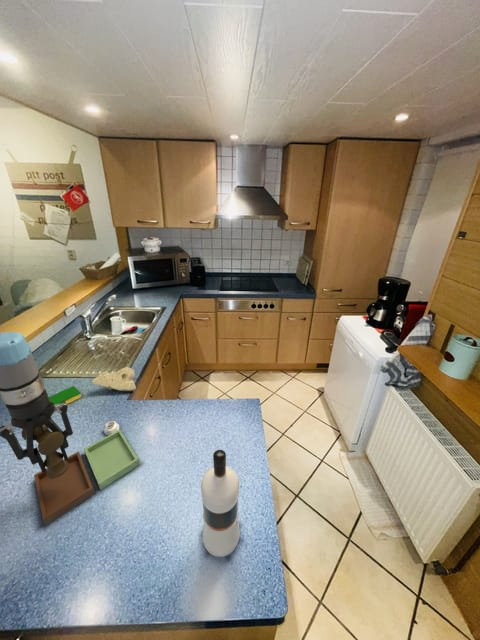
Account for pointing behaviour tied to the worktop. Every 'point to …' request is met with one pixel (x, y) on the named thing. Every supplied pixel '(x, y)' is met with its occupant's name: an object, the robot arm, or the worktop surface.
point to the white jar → (111, 427)
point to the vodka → (220, 507)
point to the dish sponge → (65, 396)
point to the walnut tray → (63, 489)
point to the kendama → (50, 450)
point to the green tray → (111, 458)
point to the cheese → (117, 380)
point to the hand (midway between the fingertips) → (54, 462)
